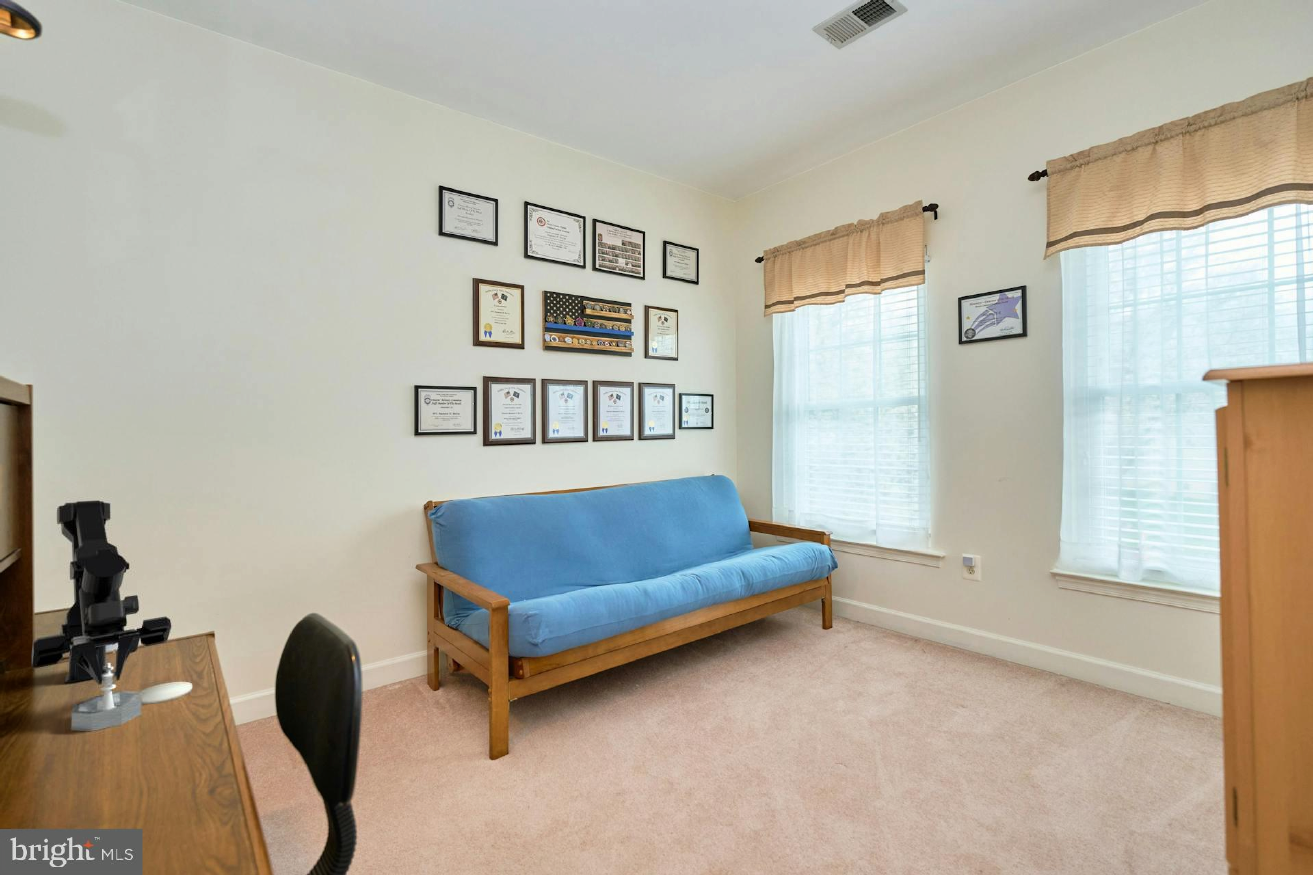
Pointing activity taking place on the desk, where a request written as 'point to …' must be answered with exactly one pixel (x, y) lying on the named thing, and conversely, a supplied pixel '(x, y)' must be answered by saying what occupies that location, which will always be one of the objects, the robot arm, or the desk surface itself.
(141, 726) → the desk surface
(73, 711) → the ring collar
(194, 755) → the desk surface
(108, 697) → the chess piece
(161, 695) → the felt pad
